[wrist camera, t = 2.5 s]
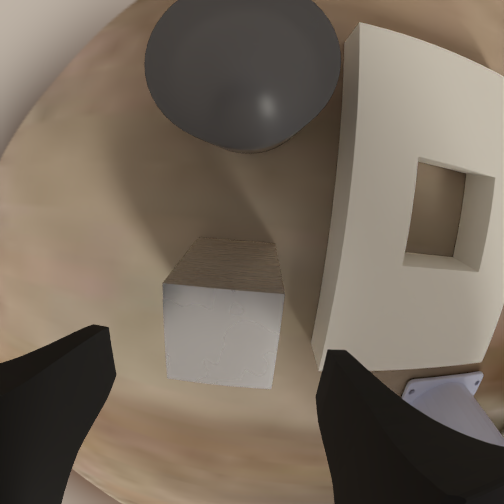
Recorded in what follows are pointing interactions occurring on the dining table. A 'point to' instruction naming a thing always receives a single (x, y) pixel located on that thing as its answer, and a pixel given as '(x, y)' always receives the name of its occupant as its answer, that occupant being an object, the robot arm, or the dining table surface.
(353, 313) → the bore plate
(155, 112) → the dining table surface
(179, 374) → the square peg
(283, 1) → the round peg
